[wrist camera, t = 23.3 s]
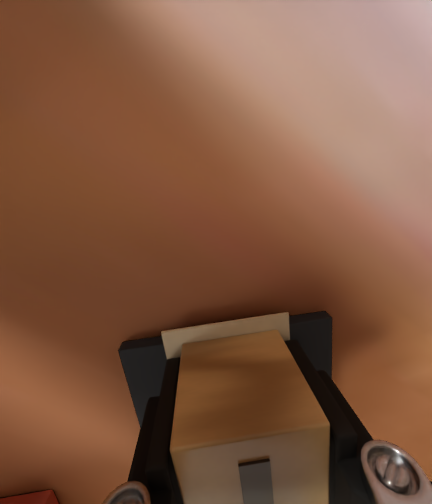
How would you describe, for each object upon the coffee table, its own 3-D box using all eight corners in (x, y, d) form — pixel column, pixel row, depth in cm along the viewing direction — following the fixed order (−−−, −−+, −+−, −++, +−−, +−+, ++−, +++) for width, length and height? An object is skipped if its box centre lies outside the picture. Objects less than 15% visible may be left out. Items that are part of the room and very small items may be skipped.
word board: (198, 612, 16) (197, 631, 15) (119, 329, 10) (112, 339, 9) (325, 587, 16) (330, 604, 15) (325, 298, 10) (334, 305, 9)
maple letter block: (196, 417, 10) (194, 556, 6) (181, 343, 9) (168, 454, 5) (282, 403, 11) (331, 530, 7) (277, 328, 9) (333, 426, 6)
